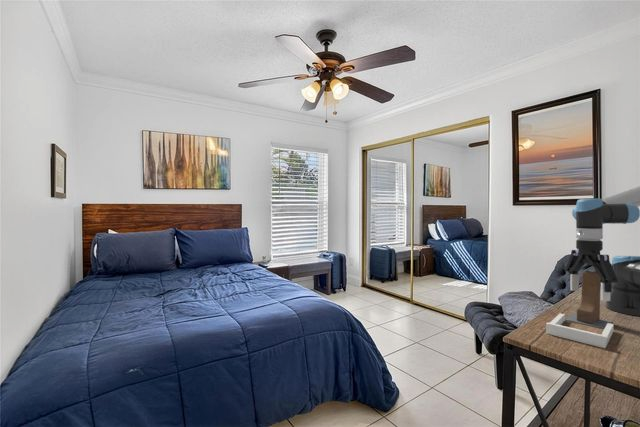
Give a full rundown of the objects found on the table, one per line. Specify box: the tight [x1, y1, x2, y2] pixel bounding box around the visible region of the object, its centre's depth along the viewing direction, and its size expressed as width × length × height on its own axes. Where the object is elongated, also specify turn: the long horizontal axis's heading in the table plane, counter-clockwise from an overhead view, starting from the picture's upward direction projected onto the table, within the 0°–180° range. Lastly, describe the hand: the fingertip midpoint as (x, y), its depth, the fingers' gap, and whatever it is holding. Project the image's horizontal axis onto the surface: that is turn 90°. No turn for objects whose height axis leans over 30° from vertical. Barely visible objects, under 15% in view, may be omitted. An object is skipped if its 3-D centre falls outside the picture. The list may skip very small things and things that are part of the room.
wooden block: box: [576, 270, 601, 324], centre depth 116 cm, size 9×4×18 cm, turn 123°
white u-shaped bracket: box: [545, 312, 615, 349], centre depth 106 cm, size 20×15×4 cm
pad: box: [564, 312, 613, 330], centre depth 116 cm, size 11×12×1 cm
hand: (589, 295), depth 116 cm, fingers open, 13 cm apart
